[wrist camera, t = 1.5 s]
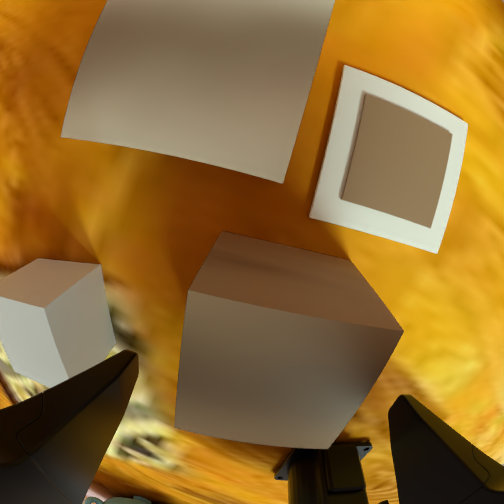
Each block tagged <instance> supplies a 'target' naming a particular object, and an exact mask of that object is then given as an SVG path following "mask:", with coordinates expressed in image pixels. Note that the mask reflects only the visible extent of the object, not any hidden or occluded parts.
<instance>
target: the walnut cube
mask: <svg viewBox="0 0 504 504" xmlns="http://www.w3.org/2000/svg"><path fill="white" fill-rule="evenodd" d="M403 332H404V330H403V329H402V328H401V326H400V325H399V323H398V322H397V321H396V319H395V318H394V316H393V315H392V314H391V312H390V311H389V310H388V308H387V307H386V306H385V304H384V303H383V302H382V300H381V299H380V298H379V296H378V295H377V294H376V292H375V291H374V290H373V288H372V287H371V286H370V285H369V283H368V282H367V281H366V279H365V278H364V277H363V276H362V274H361V273H360V272H359V270H358V269H357V268H356V267H355V265H354V264H353V263H352V262H351V260H347V259H342V258H338V257H334V256H330V255H326V254H321V253H317V252H313V251H309V250H304V249H300V248H296V247H291V246H287V245H283V244H278V243H274V242H269V241H265V240H261V239H256V238H252V237H247V236H243V235H238V234H234V233H230V232H225V231H222V232H221V233H220V235H219V237H218V238H217V240H216V242H215V244H214V245H213V247H212V249H211V250H210V252H209V254H208V256H207V257H206V259H205V261H204V263H203V264H202V266H201V268H200V270H199V271H198V273H197V275H196V277H195V279H194V280H193V282H192V284H191V286H190V287H189V289H188V294H187V302H186V309H185V317H184V326H183V334H182V343H181V353H180V363H179V373H178V384H177V397H176V411H175V427H174V428H178V429H181V430H185V431H189V432H194V433H198V434H202V435H207V436H212V437H217V438H222V439H227V440H233V441H239V442H246V443H253V444H260V445H269V446H279V447H291V448H308V449H328V448H329V447H330V446H331V444H332V443H333V442H334V441H335V439H336V438H337V437H338V436H339V434H340V433H341V432H342V430H343V429H344V428H345V426H346V425H347V424H348V422H349V421H350V419H351V418H352V417H353V415H354V414H355V412H356V411H357V409H358V408H359V407H360V405H361V404H362V402H363V401H364V399H365V398H366V396H367V395H368V393H369V391H370V390H371V388H372V387H373V385H374V384H375V382H376V380H377V379H378V377H379V375H380V374H381V372H382V370H383V369H384V367H385V365H386V363H387V362H388V360H389V358H390V356H391V355H392V353H393V351H394V349H395V347H396V345H397V344H398V342H399V340H400V338H401V336H402V334H403Z"/></svg>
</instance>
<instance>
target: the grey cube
mask: <svg viewBox="0 0 504 504" xmlns="http://www.w3.org/2000/svg"><path fill="white" fill-rule="evenodd" d="M0 340H1V343H2V345H3V347H4V350H5V352H6V354H7V356H8V359H9V361H10V363H11V365H12V367H13V369H14V371H15V372H17V373H19V374H21V375H23V376H25V377H27V378H29V379H32V380H34V381H36V382H38V383H41V384H43V385H45V386H48V387H50V388H51V387H53V386H55V385H57V384H59V383H61V382H63V381H65V380H67V379H69V378H71V377H73V376H75V375H77V374H79V373H81V372H83V371H85V370H87V369H89V368H91V367H93V366H95V365H97V364H98V363H100V362H102V361H104V359H105V358H106V357H107V355H108V354H109V352H110V351H111V350H112V348H113V347H114V345H115V344H116V340H115V336H114V332H113V328H112V323H111V318H110V314H109V309H108V304H107V298H106V293H105V287H104V281H103V274H102V267H101V264H92V263H81V262H71V261H61V260H51V259H42V258H38V259H36V260H34V261H32V262H31V263H29V264H27V265H25V266H24V267H22V268H20V269H19V270H17V271H15V272H13V273H12V274H10V275H8V276H7V277H5V278H4V279H2V280H0Z"/></svg>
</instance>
